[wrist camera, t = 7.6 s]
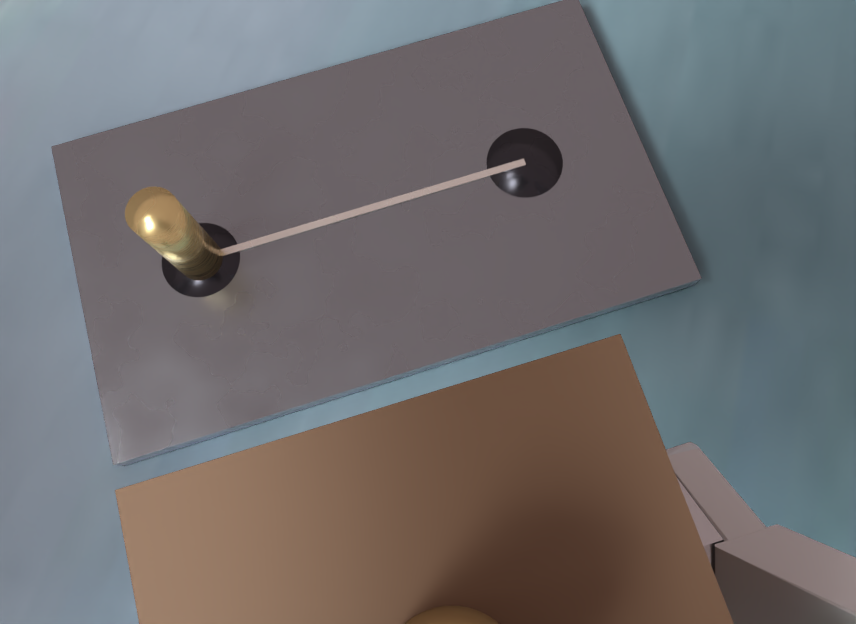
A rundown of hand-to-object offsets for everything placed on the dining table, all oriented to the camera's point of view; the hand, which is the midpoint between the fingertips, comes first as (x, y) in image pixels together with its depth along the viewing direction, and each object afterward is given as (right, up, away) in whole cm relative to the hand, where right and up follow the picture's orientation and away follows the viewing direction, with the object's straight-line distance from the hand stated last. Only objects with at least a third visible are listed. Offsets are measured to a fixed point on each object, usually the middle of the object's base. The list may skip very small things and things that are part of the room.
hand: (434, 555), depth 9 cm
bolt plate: (-3, +7, +20) cm, 21 cm away
